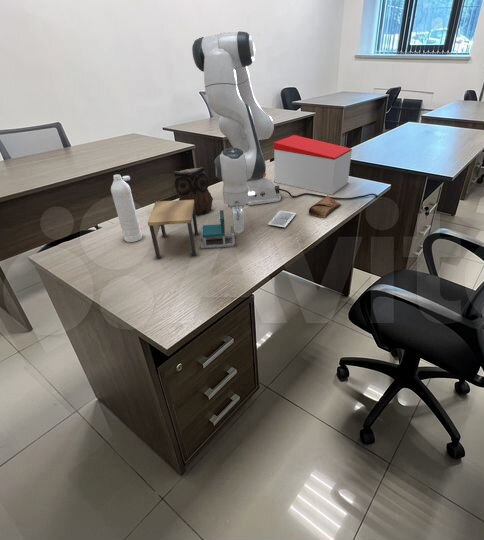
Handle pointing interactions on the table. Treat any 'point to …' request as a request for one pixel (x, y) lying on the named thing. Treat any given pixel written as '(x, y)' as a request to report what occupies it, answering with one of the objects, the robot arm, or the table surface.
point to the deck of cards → (282, 218)
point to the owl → (194, 189)
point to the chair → (217, 233)
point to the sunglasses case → (323, 207)
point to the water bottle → (125, 208)
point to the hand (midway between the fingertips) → (238, 231)
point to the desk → (172, 219)
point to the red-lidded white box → (311, 164)
